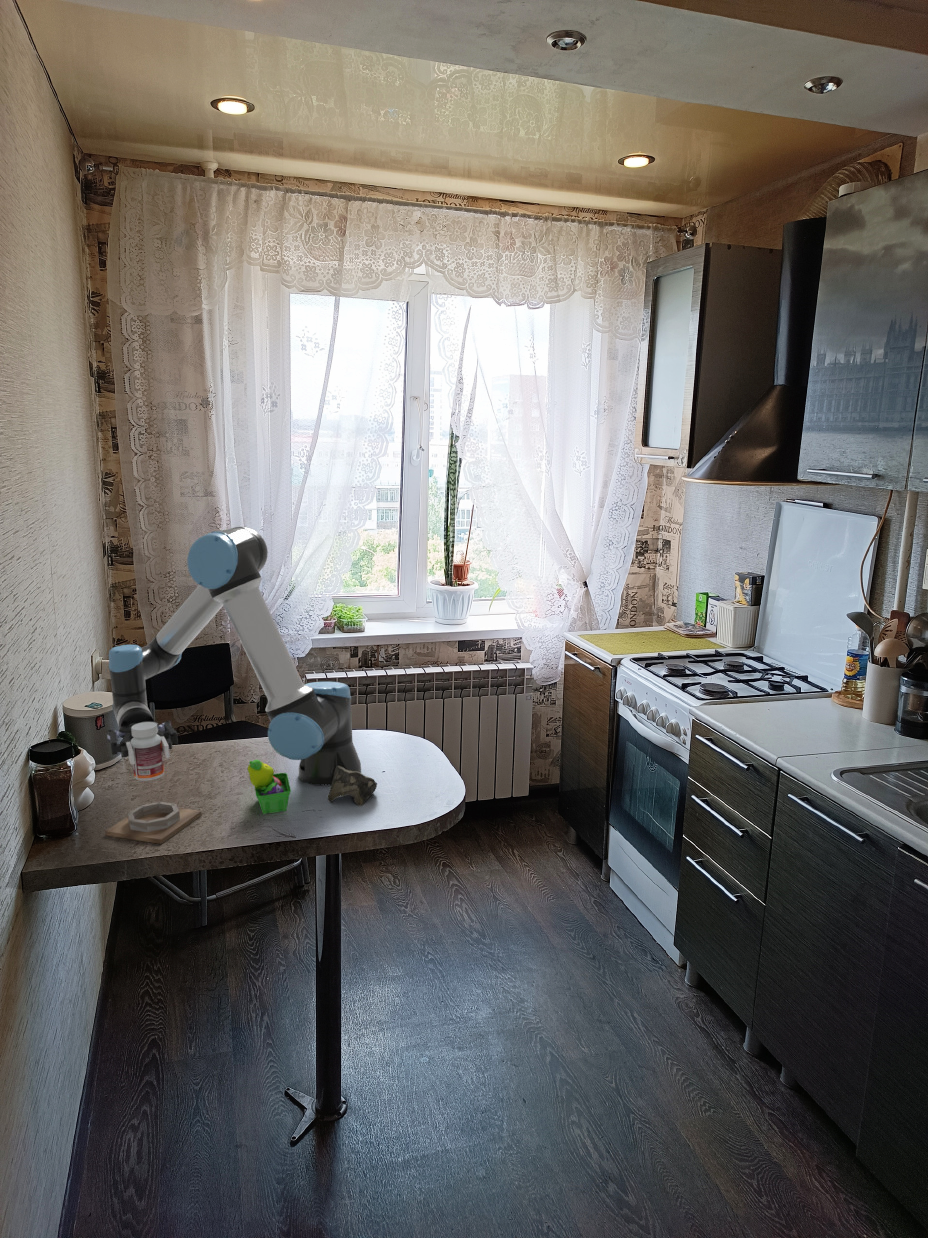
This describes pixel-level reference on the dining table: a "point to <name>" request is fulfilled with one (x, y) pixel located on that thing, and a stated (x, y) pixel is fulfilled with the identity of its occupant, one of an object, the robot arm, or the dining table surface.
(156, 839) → the carrier plate
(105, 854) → the dining table surface
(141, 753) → the pill bottle
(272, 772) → the fruit basket
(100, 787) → the dining table surface
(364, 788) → the fossil
